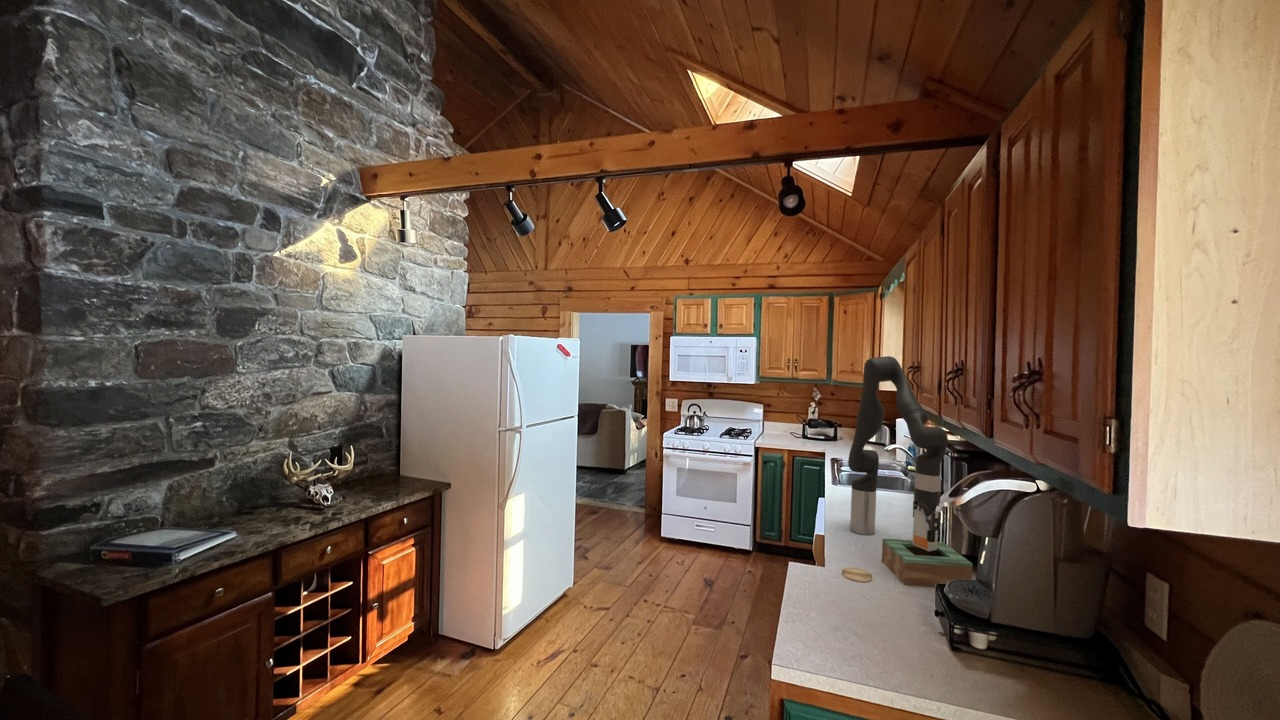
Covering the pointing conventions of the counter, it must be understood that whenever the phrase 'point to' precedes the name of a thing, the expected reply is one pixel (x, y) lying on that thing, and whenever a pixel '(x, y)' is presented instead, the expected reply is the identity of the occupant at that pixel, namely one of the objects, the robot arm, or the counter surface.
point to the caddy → (924, 563)
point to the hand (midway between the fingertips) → (925, 537)
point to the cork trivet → (857, 575)
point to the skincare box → (922, 532)
